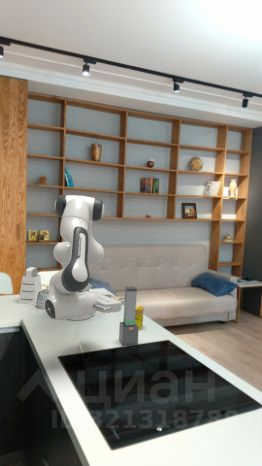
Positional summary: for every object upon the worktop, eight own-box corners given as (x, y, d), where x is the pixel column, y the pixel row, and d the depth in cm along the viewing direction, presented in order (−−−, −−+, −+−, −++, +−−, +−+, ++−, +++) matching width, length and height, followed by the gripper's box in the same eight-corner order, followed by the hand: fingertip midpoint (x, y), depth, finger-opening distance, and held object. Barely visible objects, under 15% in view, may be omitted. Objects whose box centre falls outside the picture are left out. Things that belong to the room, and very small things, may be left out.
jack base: (109, 340, 154) (110, 320, 153) (140, 339, 157) (141, 319, 157) (114, 351, 142) (115, 329, 142) (147, 350, 146) (149, 328, 145)
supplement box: (140, 332, 166) (141, 309, 165) (128, 331, 167) (129, 308, 166) (142, 328, 171) (144, 306, 171) (130, 327, 173) (131, 305, 172)
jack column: (122, 326, 151) (124, 286, 149) (132, 325, 152) (134, 286, 150) (125, 329, 147) (127, 288, 145) (134, 329, 148) (137, 288, 146)
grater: (18, 303, 203) (19, 268, 201) (26, 298, 213) (27, 266, 212) (35, 305, 201) (36, 270, 200) (42, 300, 212) (44, 267, 210)
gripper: (102, 301, 127) (133, 297, 135) (74, 289, 143) (103, 286, 151) (102, 318, 127) (132, 313, 136) (74, 305, 143) (102, 301, 152)
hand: (116, 299), depth 144 cm, fingers open, 8 cm apart
